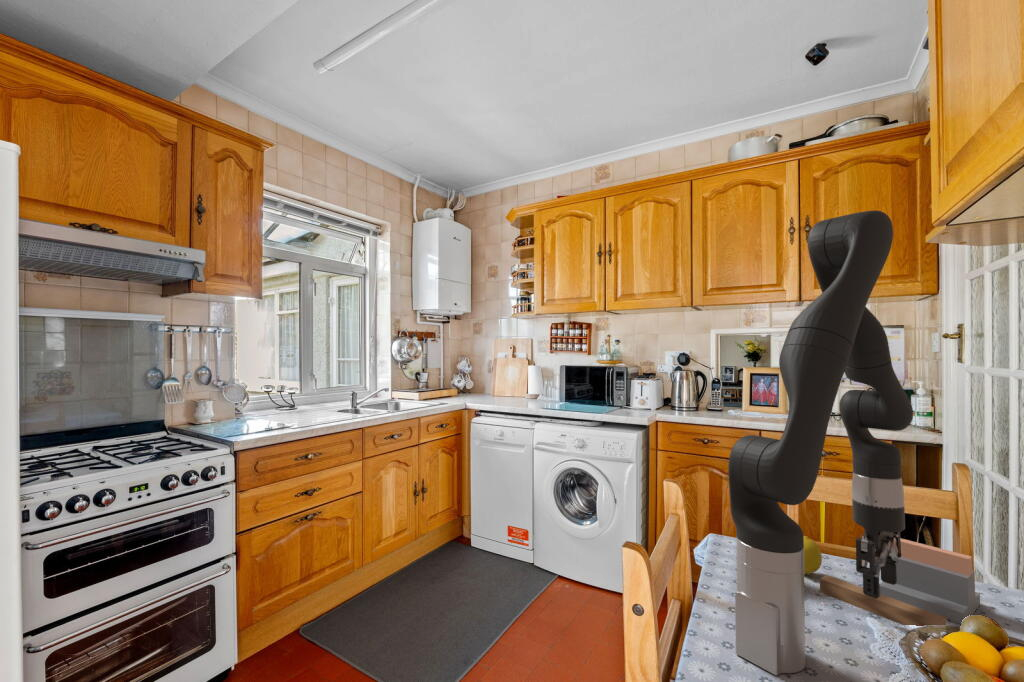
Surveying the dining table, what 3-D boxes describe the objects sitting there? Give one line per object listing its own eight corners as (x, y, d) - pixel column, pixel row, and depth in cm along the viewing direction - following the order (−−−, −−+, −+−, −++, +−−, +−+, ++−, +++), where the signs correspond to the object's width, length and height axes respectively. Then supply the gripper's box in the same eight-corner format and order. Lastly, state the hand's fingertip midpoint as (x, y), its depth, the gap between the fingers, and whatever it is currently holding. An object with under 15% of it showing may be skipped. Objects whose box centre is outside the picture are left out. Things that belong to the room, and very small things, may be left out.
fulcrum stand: (963, 625, 80) (961, 566, 80) (878, 595, 90) (877, 543, 90) (980, 604, 87) (978, 550, 87) (899, 579, 97) (898, 530, 97)
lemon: (828, 580, 96) (827, 541, 96) (801, 580, 96) (800, 541, 96) (811, 568, 101) (810, 531, 102) (785, 568, 101) (785, 531, 102)
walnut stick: (947, 636, 77) (946, 617, 78) (940, 641, 76) (940, 623, 76) (827, 590, 93) (827, 574, 93) (820, 594, 91) (819, 578, 91)
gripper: (888, 513, 78) (892, 611, 77) (916, 497, 86) (919, 586, 85) (837, 501, 84) (840, 592, 83) (867, 488, 92) (870, 571, 91)
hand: (880, 589), depth 84 cm, fingers open, 8 cm apart
